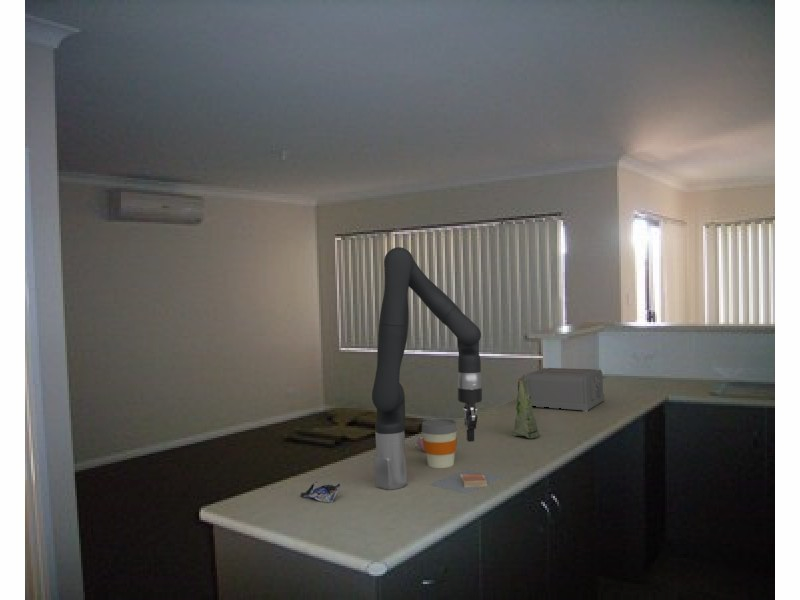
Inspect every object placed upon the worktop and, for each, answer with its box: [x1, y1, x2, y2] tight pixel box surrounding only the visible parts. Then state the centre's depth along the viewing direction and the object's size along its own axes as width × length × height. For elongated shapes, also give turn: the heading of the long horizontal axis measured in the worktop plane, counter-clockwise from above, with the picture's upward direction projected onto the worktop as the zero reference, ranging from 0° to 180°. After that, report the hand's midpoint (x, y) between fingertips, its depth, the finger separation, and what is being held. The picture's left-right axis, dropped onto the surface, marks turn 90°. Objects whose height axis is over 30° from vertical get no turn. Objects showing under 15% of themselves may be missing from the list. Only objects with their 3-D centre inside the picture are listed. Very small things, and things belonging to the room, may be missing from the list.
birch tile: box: [460, 473, 488, 487], centre depth 189 cm, size 2×7×8 cm
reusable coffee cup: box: [421, 418, 458, 469], centre depth 211 cm, size 13×13×15 cm
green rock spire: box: [513, 374, 540, 439], centre depth 248 cm, size 11×12×25 cm
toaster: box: [525, 367, 607, 412], centre depth 311 cm, size 31×36×17 cm
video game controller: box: [416, 434, 425, 452], centre depth 234 cm, size 10×5×7 cm, turn 142°
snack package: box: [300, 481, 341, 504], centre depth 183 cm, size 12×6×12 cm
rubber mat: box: [428, 468, 504, 495], centre depth 192 cm, size 20×15×1 cm
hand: (470, 441), depth 190 cm, fingers closed
